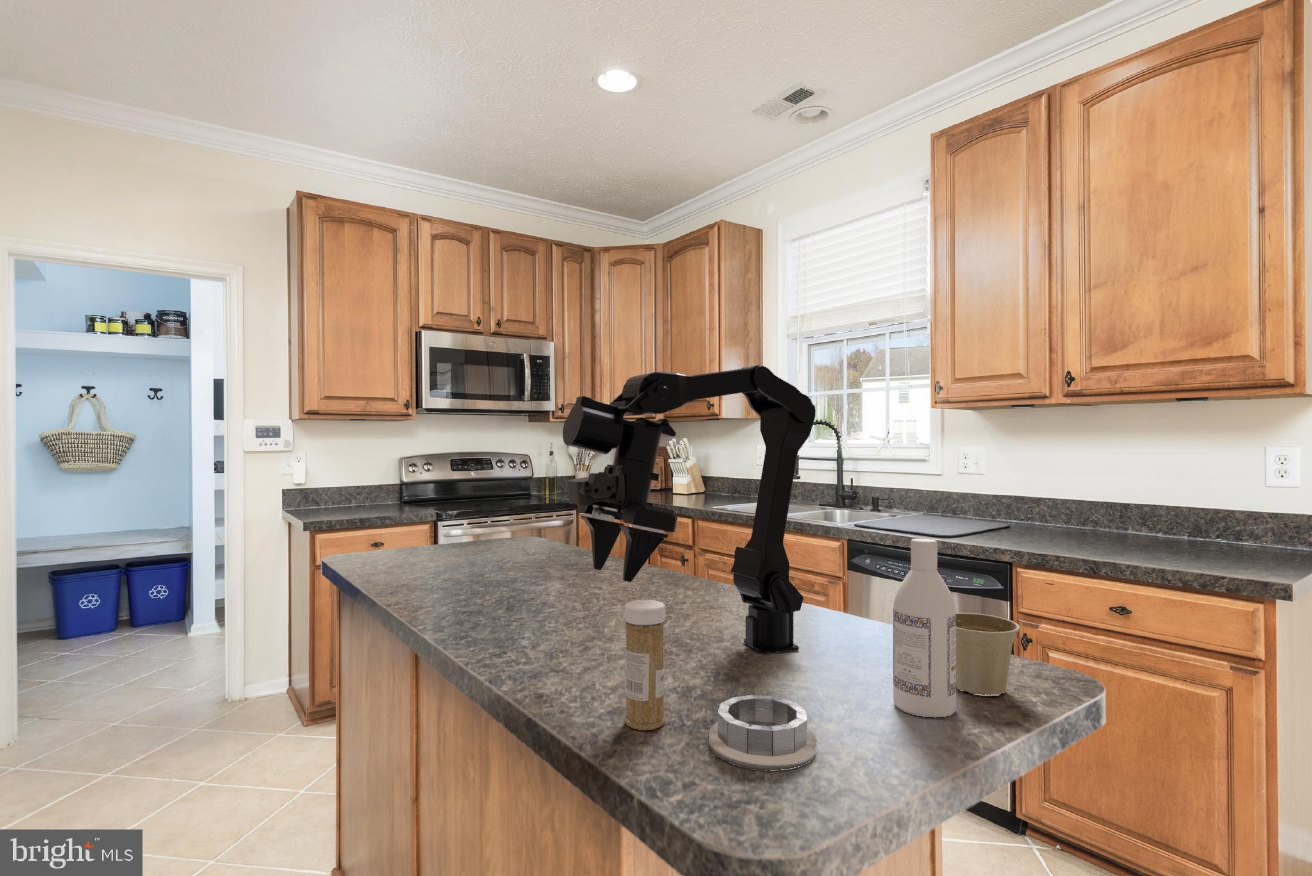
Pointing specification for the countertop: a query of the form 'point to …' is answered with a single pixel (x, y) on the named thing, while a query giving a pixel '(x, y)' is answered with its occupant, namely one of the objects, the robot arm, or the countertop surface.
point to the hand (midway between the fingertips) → (611, 575)
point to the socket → (762, 733)
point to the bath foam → (924, 638)
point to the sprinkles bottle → (644, 664)
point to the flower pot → (983, 652)
